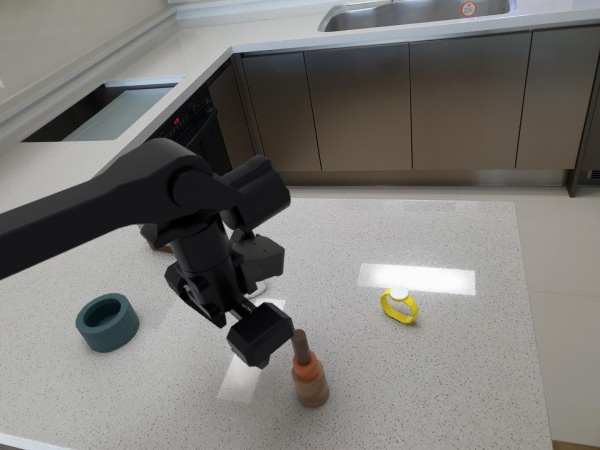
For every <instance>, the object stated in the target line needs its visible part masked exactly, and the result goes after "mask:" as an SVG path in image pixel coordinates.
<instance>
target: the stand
mask: <svg viewBox="0 0 600 450" xmlns="http://www.w3.org/2000/svg"><path fill="white" fill-rule="evenodd" d="M317 362H318V366H319V373H318V375H317V376H316V377H315V378H314V379H313V380H310V381H302V380H300V379H299V378H298V377H297V376H296V373H295V370H294V366H293V365H292V368H291V378H292V382H293V385H294V388H295V392H296V394H297V398H298V400H299V403H300V404H301V405H302V406H304V407H305V408H308V409H317V408H320V407H322V406H323V405H324V404H325V403H326V402H327V401H328V399H329V396H330V390H329V385H328V381H327V377H326V373H325V368H324V365H323V363H322V361H320V360H319V359H318V358H317Z"/></svg>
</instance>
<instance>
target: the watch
mask: <svg viewBox="0 0 600 450" xmlns="http://www.w3.org/2000/svg"><path fill="white" fill-rule="evenodd" d="M387 296H389V297H390V299H391V300H392V301H394V302H397V303H402V302H403V303H404V304H405V305H406V306H407V307H408V308H409V310H410V312H411V316H410V315H409V316H407V315H406V314H404V313H402V312H400V311H397V310H396V309H394V308H393V307H392V305H391V304H389V301H388V299H387ZM379 304H380V307H381V308H382V309H383V311H384V312H385V314H387V316H388V317H391V318H393V319H395V320H397V321H398V322H400V323H402V324H406V325H407V324H412V323H413V322H414V321H415V320H416V318H417V317H418V315H419V306H418V305H417V303H416V301H415V300H414V298H413V297H412V296H410V295H409V289H407V287H405V286H404V285H395V286H393V287H390V288H387V289H386V290H385V291H384V292H383V293H382V294H381V295H380V298H379Z"/></svg>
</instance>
